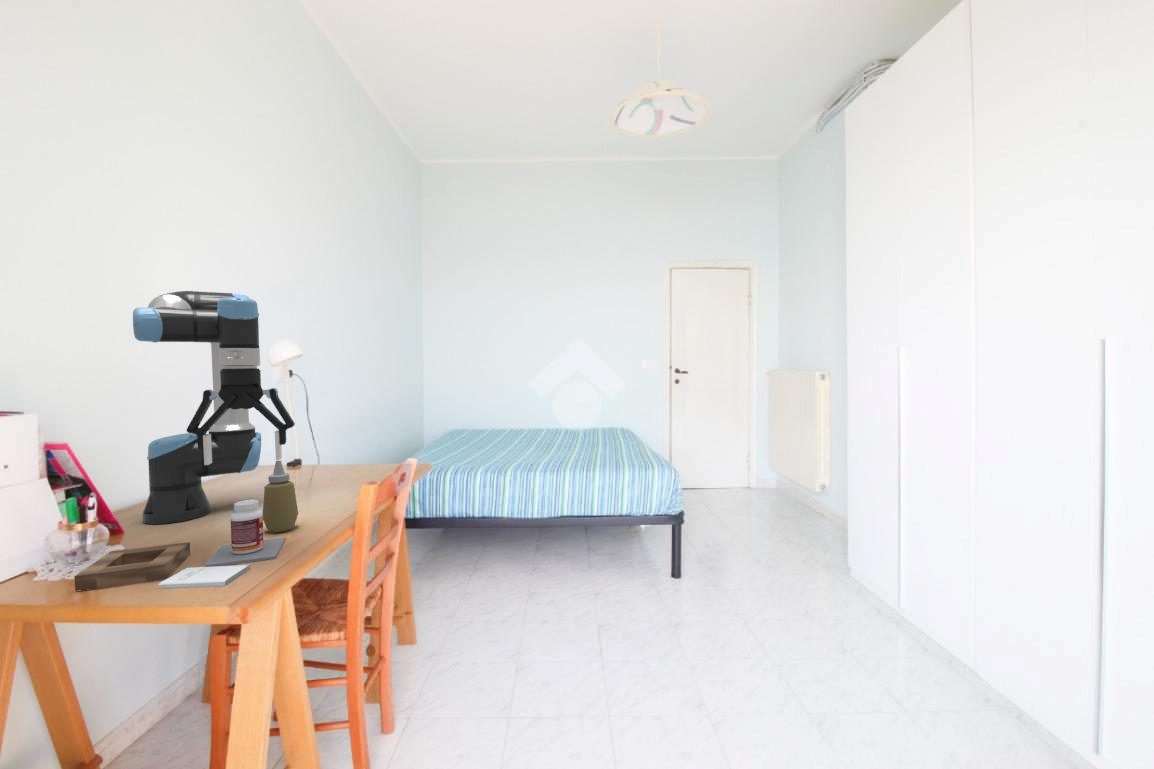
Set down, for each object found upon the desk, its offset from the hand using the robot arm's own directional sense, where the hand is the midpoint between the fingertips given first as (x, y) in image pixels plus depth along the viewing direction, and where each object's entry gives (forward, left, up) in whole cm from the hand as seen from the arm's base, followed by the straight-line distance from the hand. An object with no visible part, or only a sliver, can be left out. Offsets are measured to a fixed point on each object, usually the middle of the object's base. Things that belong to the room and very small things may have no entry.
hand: (244, 461), depth 113 cm
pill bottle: (0, 0, -21) cm, 21 cm away
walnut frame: (+3, -19, -21) cm, 28 cm away
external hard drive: (+13, -4, -22) cm, 26 cm away
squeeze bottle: (-16, +4, -21) cm, 27 cm away
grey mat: (0, 0, -21) cm, 21 cm away
